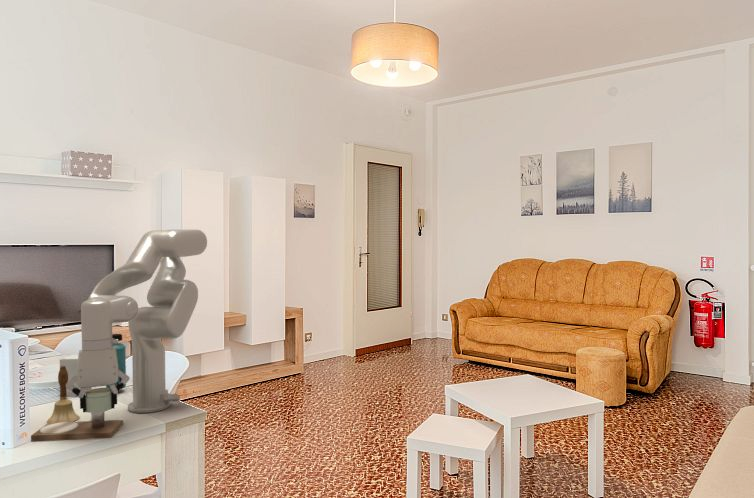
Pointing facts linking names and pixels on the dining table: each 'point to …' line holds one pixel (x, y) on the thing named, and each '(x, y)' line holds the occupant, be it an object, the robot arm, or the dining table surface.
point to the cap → (98, 400)
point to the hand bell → (63, 402)
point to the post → (97, 420)
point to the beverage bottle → (120, 357)
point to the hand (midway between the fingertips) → (99, 408)
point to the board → (76, 430)
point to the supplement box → (71, 371)
